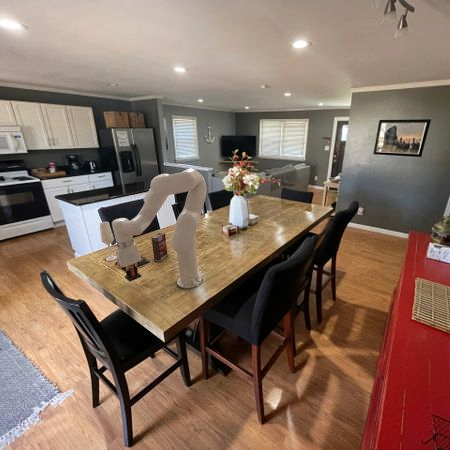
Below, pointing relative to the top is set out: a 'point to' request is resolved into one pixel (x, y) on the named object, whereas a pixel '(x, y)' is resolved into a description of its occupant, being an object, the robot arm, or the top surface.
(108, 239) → the champagne flute
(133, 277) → the stud pad
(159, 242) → the supplement box
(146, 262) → the base pad
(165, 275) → the top surface
